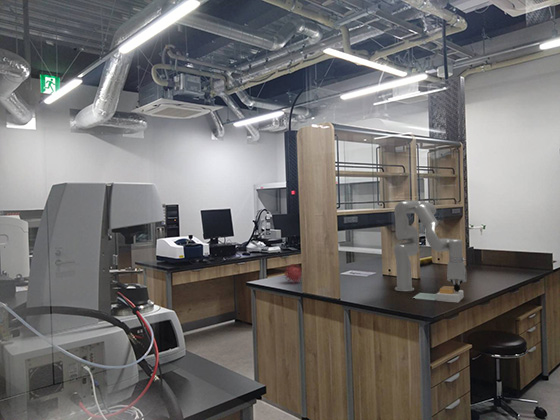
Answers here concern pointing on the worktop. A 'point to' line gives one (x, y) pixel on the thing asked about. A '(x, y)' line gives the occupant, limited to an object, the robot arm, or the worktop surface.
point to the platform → (450, 296)
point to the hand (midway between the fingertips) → (457, 291)
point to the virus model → (293, 273)
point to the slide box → (447, 290)
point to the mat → (425, 296)
